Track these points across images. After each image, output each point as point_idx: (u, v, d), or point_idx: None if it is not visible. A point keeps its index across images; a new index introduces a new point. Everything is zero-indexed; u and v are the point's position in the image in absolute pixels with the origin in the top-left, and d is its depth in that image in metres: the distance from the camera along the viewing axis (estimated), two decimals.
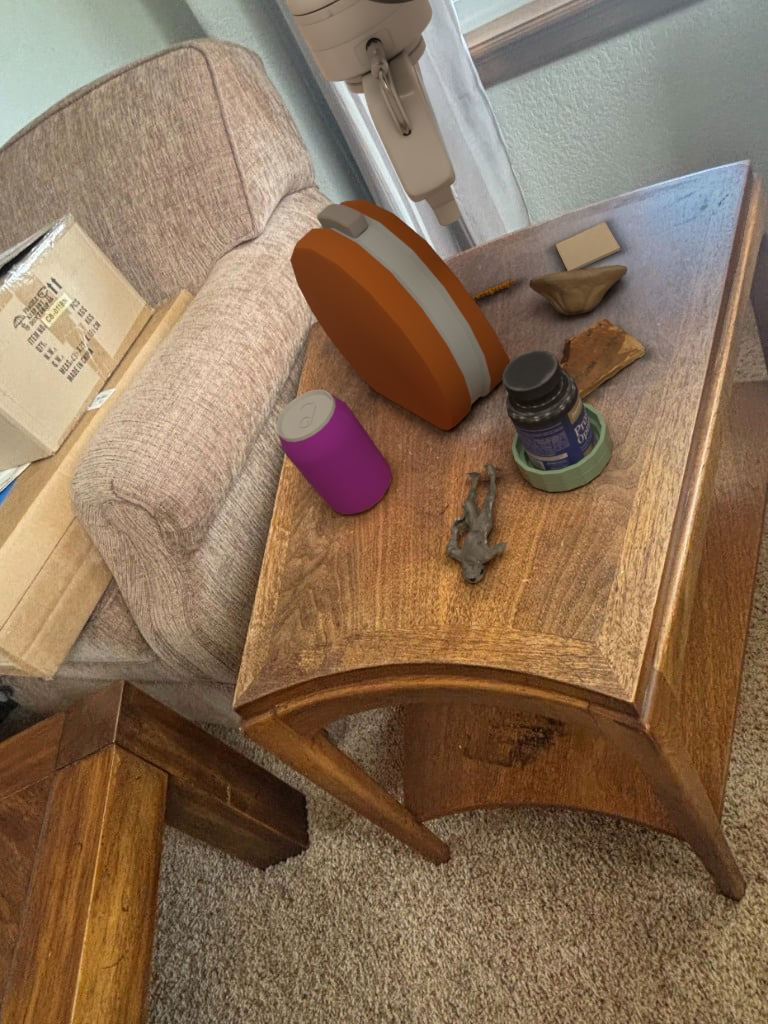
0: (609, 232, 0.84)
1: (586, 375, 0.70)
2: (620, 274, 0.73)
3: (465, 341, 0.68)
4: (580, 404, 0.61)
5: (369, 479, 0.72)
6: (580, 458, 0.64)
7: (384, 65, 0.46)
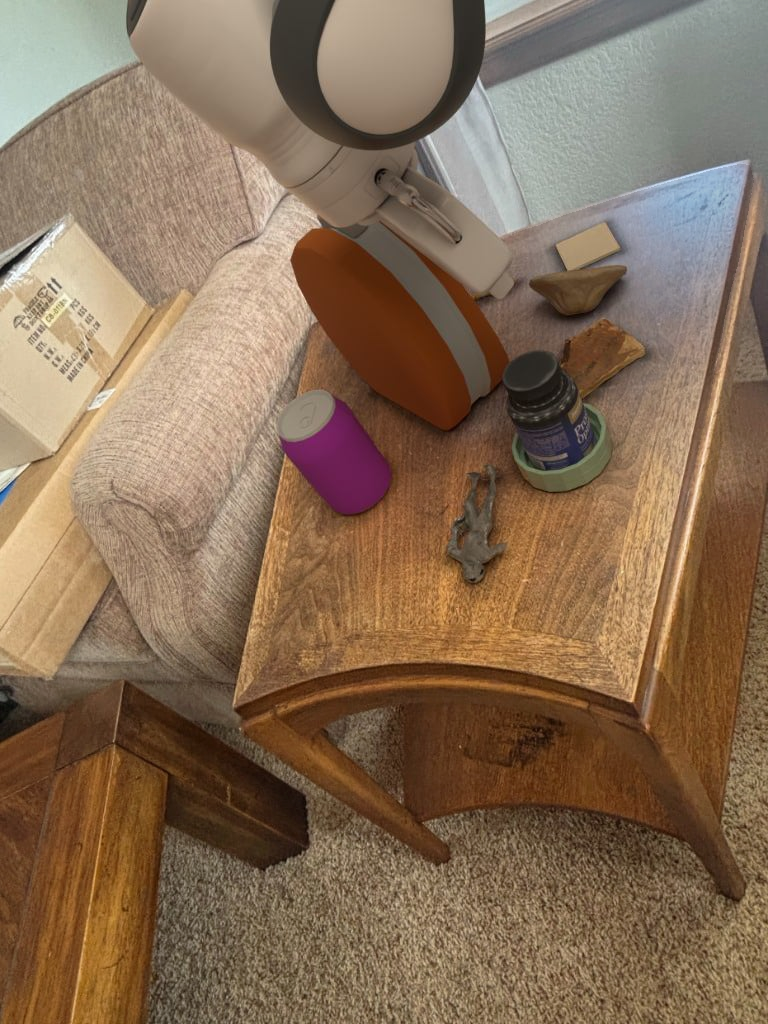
0: (609, 232, 0.84)
1: (586, 375, 0.70)
2: (620, 274, 0.73)
3: (465, 341, 0.68)
4: (580, 404, 0.61)
5: (369, 479, 0.72)
6: (580, 458, 0.64)
7: (415, 191, 0.44)
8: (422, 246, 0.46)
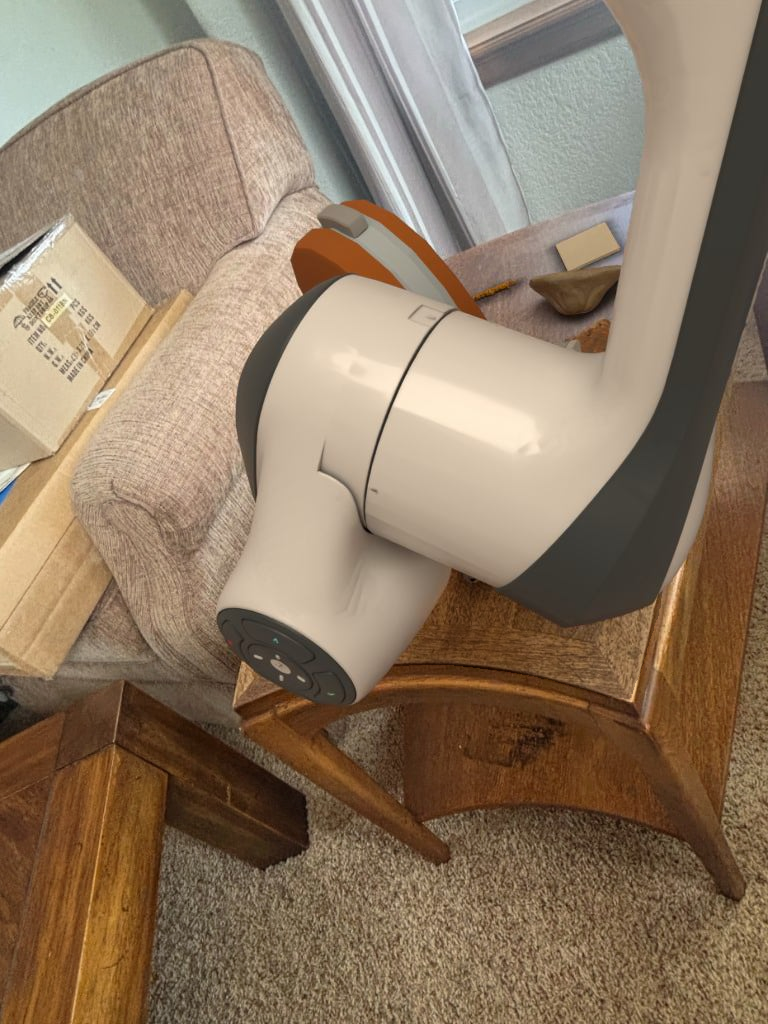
0: (609, 232, 0.84)
1: None
2: None
3: None
4: None
5: None
6: None
7: None
8: None
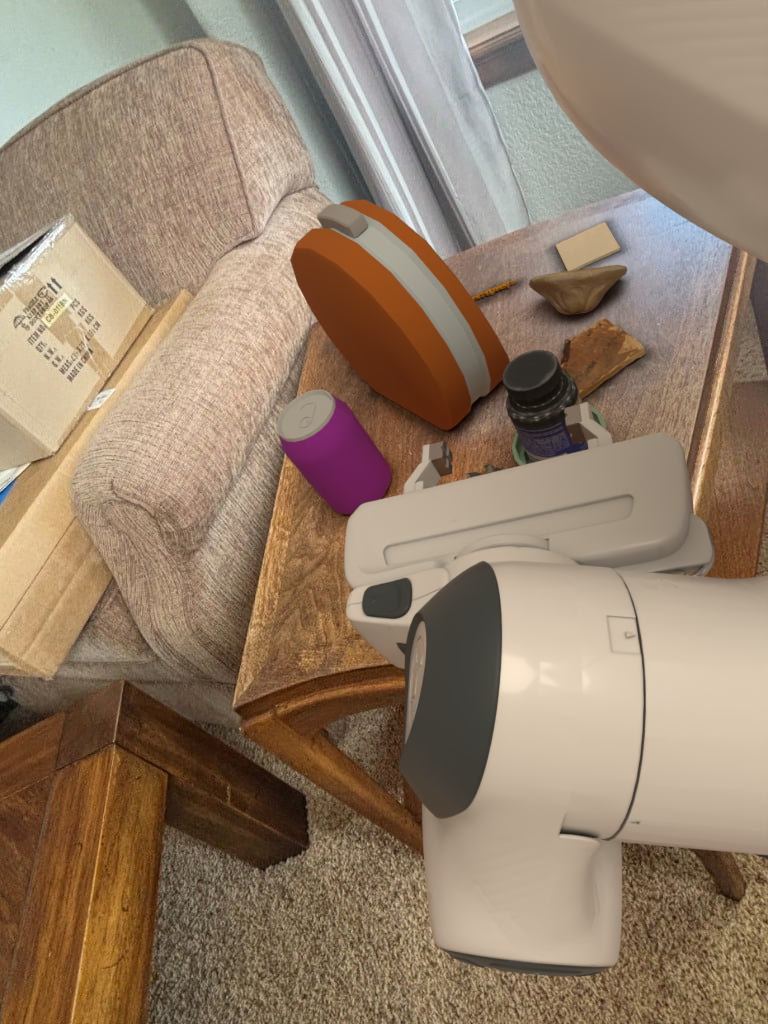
0: (609, 232, 0.84)
1: (586, 375, 0.70)
2: (620, 274, 0.73)
3: (465, 341, 0.68)
4: None
5: (369, 479, 0.72)
6: None
7: None
8: None
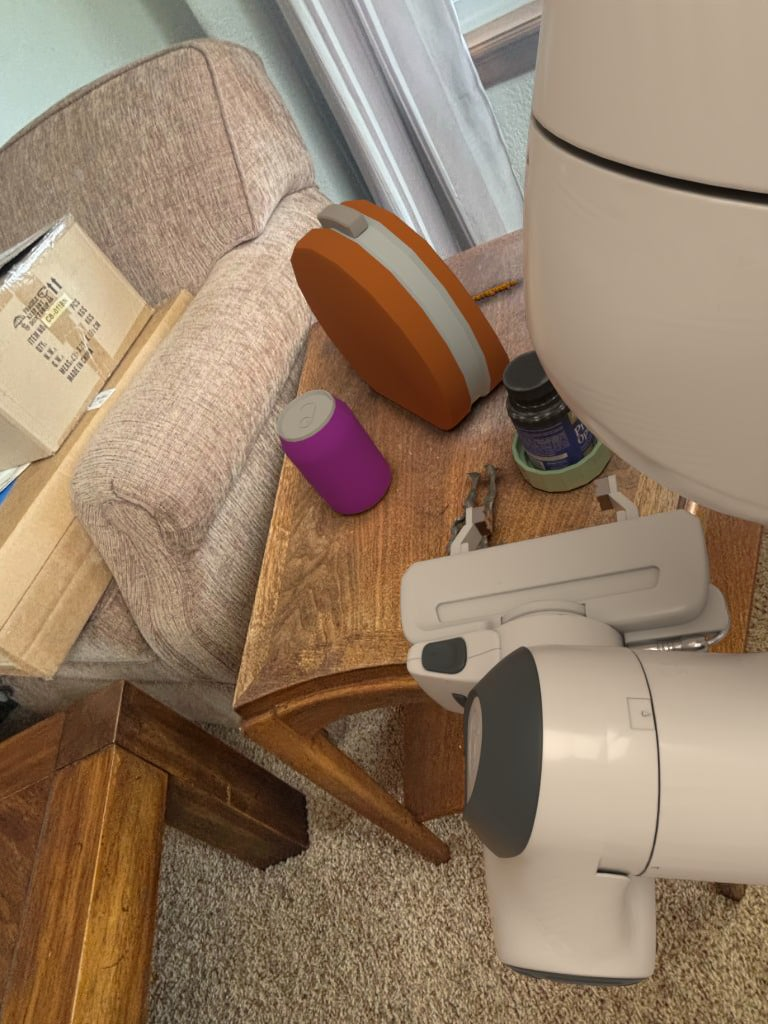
0: None
1: None
2: None
3: (465, 341, 0.68)
4: None
5: (369, 479, 0.72)
6: (580, 458, 0.64)
7: (706, 644, 0.41)
8: None
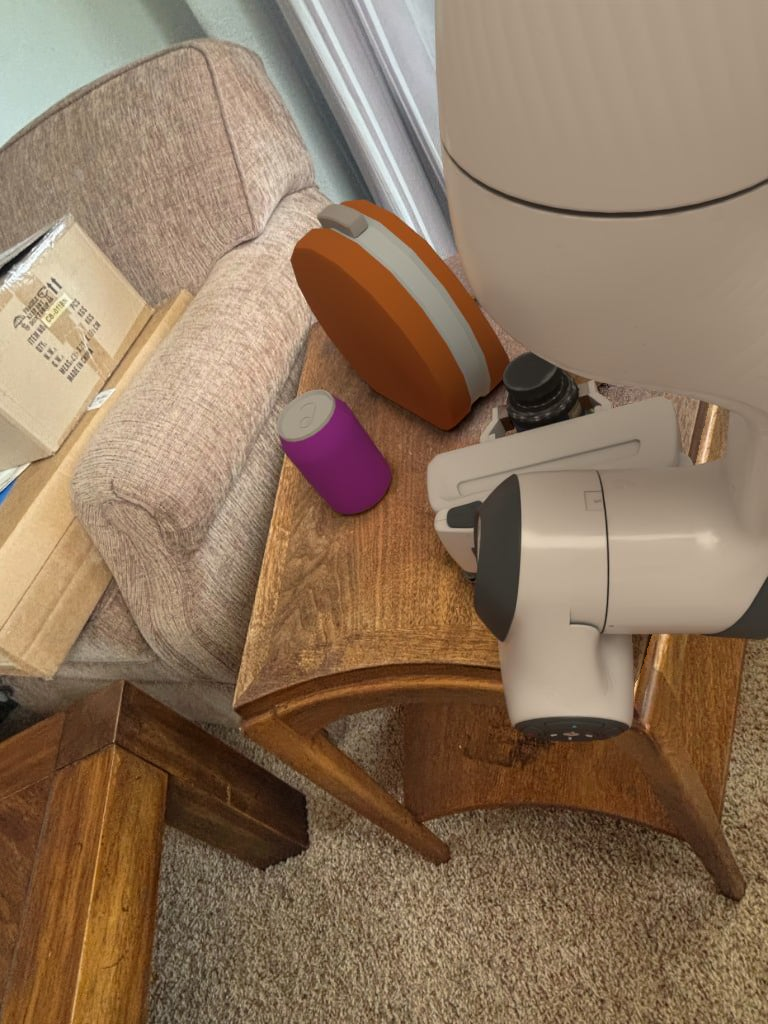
0: None
1: None
2: None
3: (465, 341, 0.68)
4: (580, 404, 0.61)
5: (369, 479, 0.72)
6: None
7: None
8: None
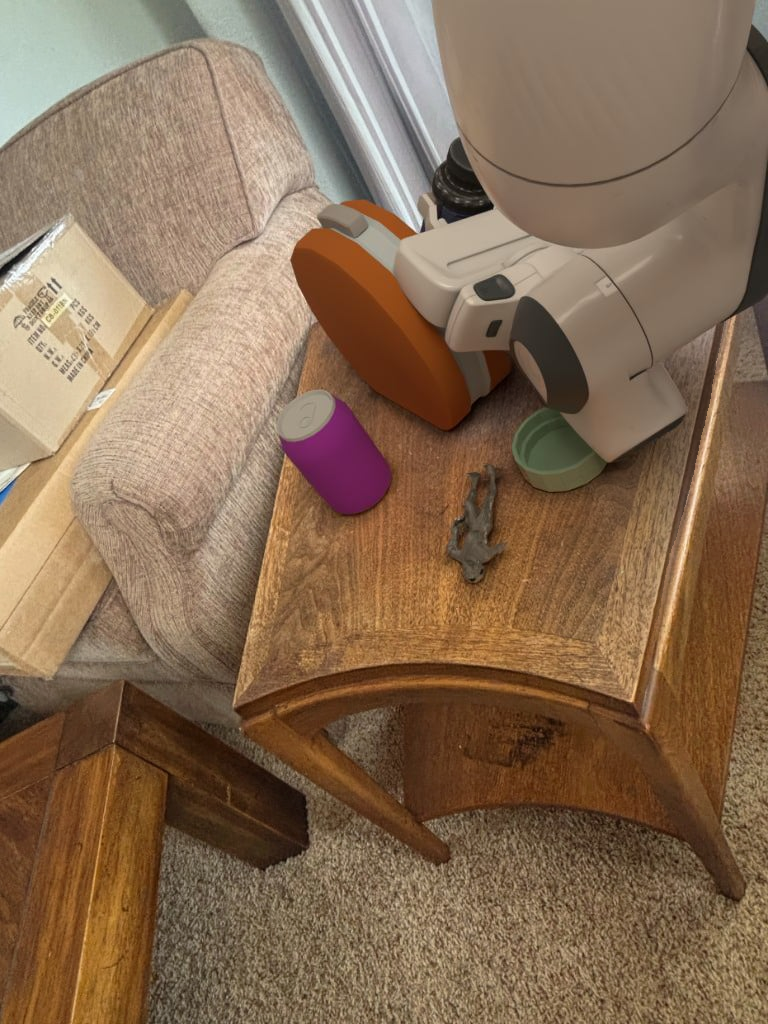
0: None
1: None
2: None
3: None
4: None
5: (369, 479, 0.72)
6: None
7: None
8: None
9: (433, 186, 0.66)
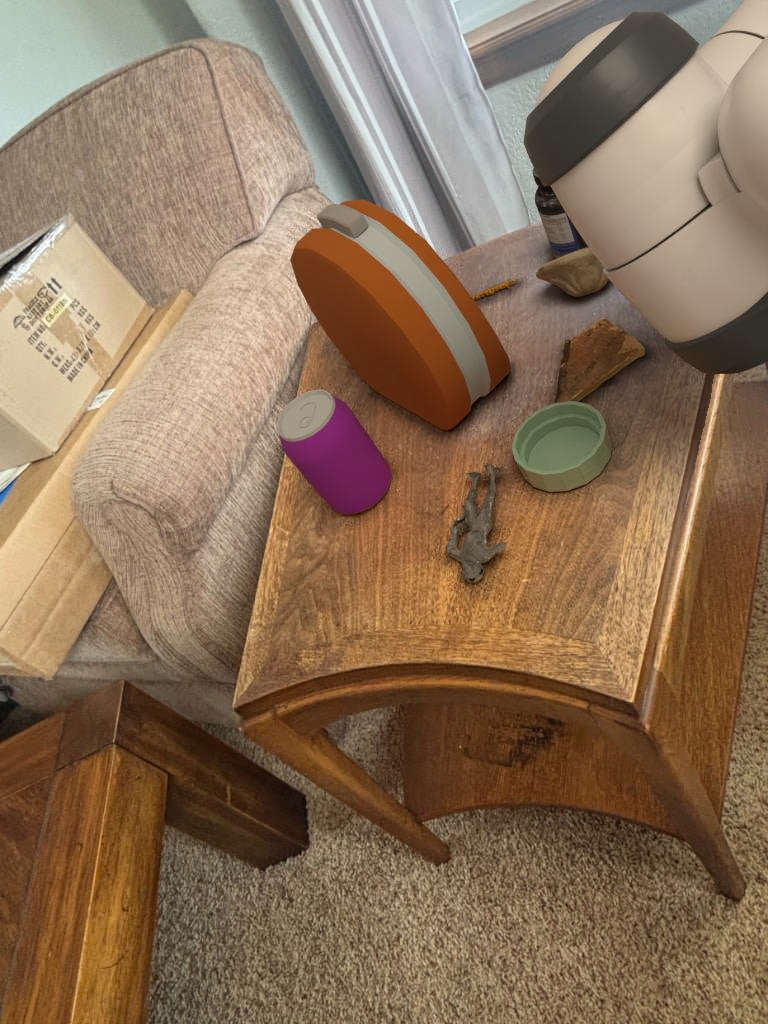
0: None
1: (586, 375, 0.70)
2: None
3: (465, 341, 0.68)
4: None
5: (369, 479, 0.72)
6: None
7: None
8: None
9: (559, 210, 0.77)
